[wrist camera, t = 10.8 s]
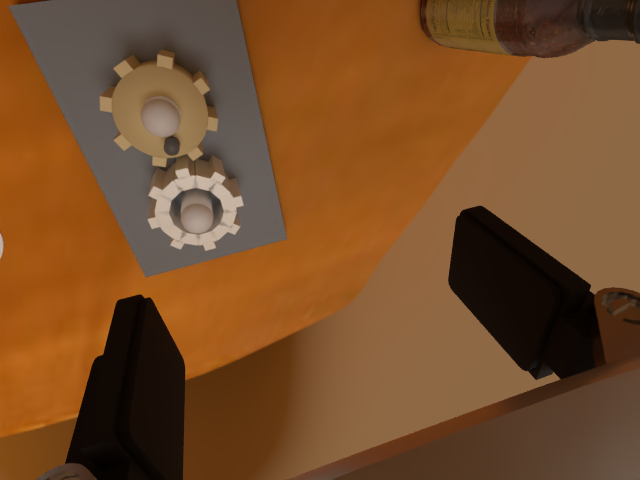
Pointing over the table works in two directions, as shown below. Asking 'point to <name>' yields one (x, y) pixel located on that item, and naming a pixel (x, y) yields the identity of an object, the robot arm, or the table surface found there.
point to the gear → (189, 177)
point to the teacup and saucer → (1, 245)
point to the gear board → (130, 172)
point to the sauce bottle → (529, 24)
